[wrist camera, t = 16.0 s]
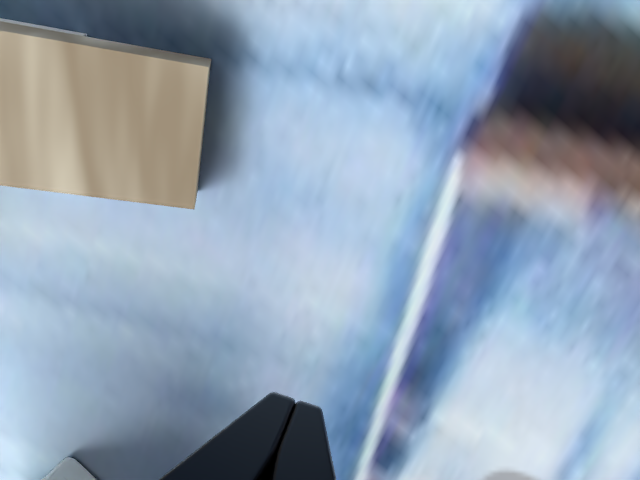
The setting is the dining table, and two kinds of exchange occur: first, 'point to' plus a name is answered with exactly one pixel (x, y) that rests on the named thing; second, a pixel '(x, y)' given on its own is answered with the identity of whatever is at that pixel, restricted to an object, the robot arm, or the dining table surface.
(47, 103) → the domino
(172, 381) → the dining table surface
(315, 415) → the robot arm
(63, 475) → the skincare box
